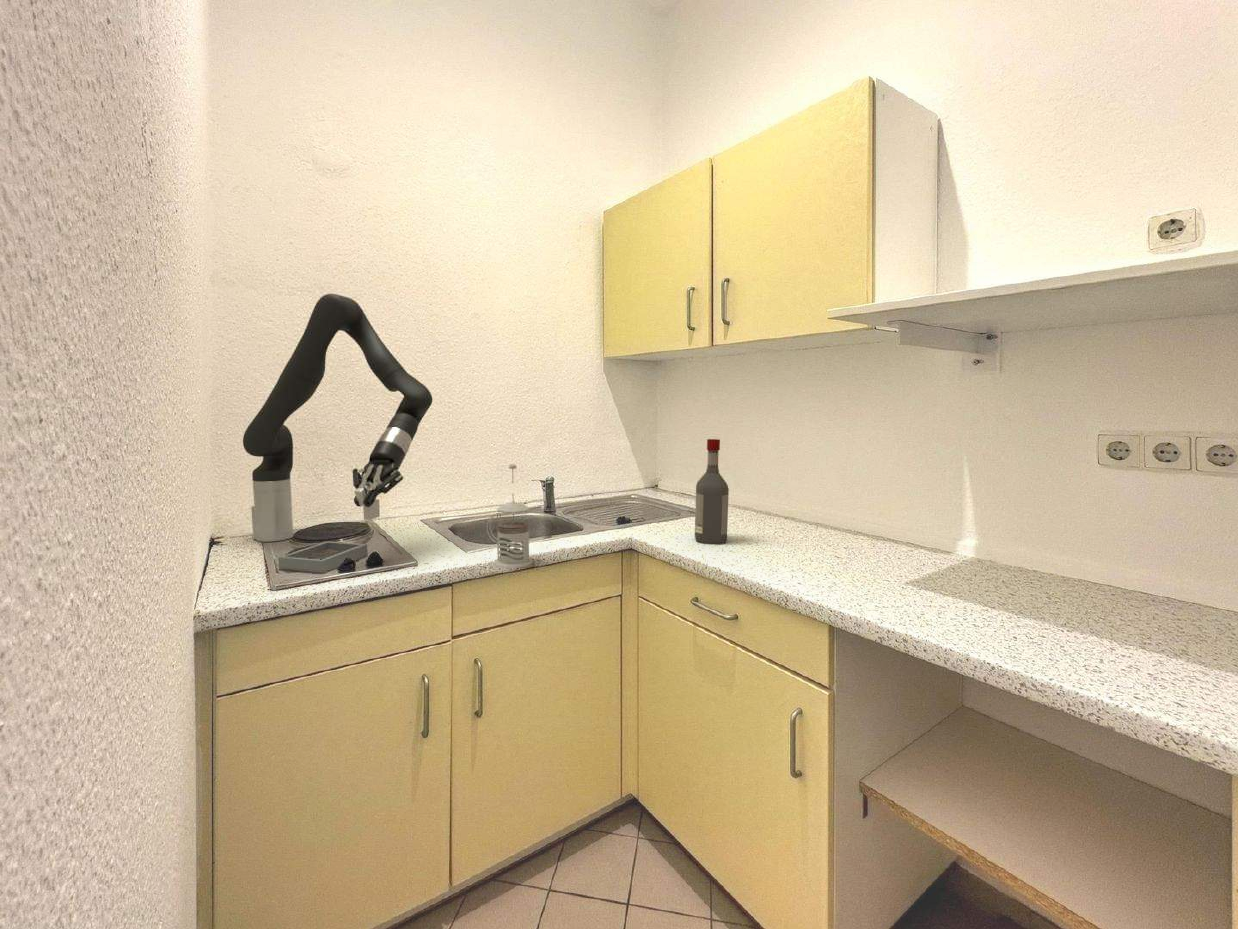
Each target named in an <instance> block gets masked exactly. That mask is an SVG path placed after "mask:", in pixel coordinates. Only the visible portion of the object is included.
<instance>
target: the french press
mask: <svg viewBox="0 0 1238 929" xmlns="http://www.w3.org/2000/svg"><path fill="white" fill-rule="evenodd" d="M508 469H510V470H511V471H512V478H511V479H512V480H511V481H512V482H514V470H516V469H517V465H516V464H514V463H510V464H509V466H508ZM514 497H515V496H514V494H512V501H511V502H506V503H504V504H501V505H500V506H498V507H497V508H496V511H497V513H495V514H493V515H492V516H490V517H489V518H488V521H487V524H486V531H487V535H488V537H489V538H490V539H491V541H493V542H495V544H496V546H497V548H496V550H497V552H496V553H497V559H496V560H495V561H494V562H493V565H494V566H496V567H498V568H504V569H516V568H517V569H518V568H524V567H528V566H530V565H532V564H533V562H534V560H533V559H532V558H531V557H530V530H529V529H528V528H527V527H528V523H527V522H524V521H515V514H522V513H523V514H524V513H528V512H529V511H530V507H529V506H527V505H526V504H524V503H521V502H515V501H514ZM501 513H503V514H512V521H506V522H505V521H504V522H501V523H499V524H498V527H499V528H500V529H499V530H497V537H495V535H494V534H493V532H492V528H491V527H492V520H493V519H494V517H495V516H496V519H497V520H500V519H501V518H502V517H501ZM489 531H490V533H489ZM513 532H518V533H513ZM511 533H512V534H511ZM490 534H491V535H490ZM491 536H492V537H493V538H492V537H491ZM494 539H495V540H494ZM512 542H513V543H512ZM511 547H513V548H511Z"/></svg>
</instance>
